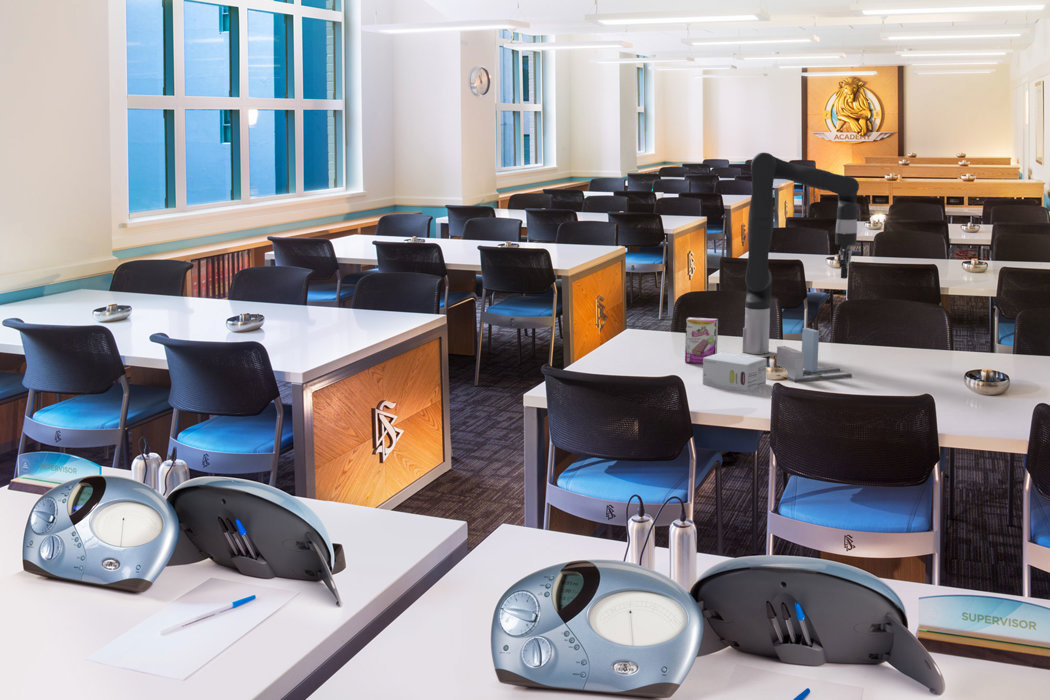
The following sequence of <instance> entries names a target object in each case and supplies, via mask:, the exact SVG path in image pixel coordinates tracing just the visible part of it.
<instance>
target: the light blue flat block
mask: <svg viewBox="0 0 1050 700" xmlns="http://www.w3.org/2000/svg"><path fill="white" fill-rule="evenodd" d="M819 339H820V330H816V329H812V328H811V327H810V328H809V327H802V336H801V352H804V357H803V370H805V369H806V370H808V371H811V372H814V373H816V374H818V375H821V373H818V372H817V368H818V363H819V341H820V340H819Z"/></svg>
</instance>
